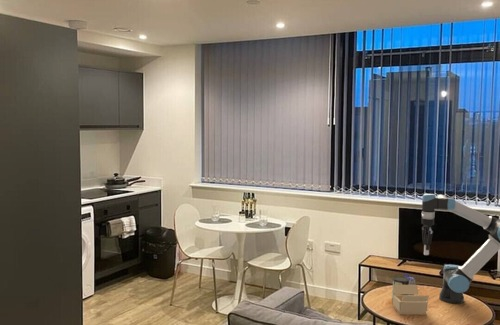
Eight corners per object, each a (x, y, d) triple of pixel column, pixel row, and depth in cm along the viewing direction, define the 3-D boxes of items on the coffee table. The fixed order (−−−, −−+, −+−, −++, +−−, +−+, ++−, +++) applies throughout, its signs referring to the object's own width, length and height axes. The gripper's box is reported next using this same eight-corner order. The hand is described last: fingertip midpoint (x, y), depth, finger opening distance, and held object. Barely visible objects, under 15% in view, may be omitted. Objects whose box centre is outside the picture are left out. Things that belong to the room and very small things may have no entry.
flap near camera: (429, 295, 297) (429, 296, 296) (426, 301, 301) (426, 301, 300) (404, 295, 296) (404, 295, 296) (401, 300, 300) (401, 301, 300)
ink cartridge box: (411, 294, 338) (412, 273, 337) (414, 297, 333) (415, 275, 332) (397, 294, 338) (398, 273, 337) (400, 297, 332) (401, 275, 331)
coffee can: (407, 297, 331) (408, 277, 330) (409, 303, 321) (410, 281, 320) (391, 296, 333) (392, 275, 332) (392, 301, 323) (393, 280, 322)
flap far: (418, 294, 313) (418, 294, 313) (416, 284, 316) (416, 285, 316) (394, 294, 312) (394, 294, 312) (393, 284, 315) (393, 284, 315)
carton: (419, 307, 313) (420, 295, 313) (427, 315, 301) (427, 302, 301) (392, 307, 313) (393, 295, 312) (399, 314, 301) (399, 301, 300)
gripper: (418, 216, 322) (416, 252, 324) (426, 220, 309) (424, 257, 311) (429, 216, 323) (427, 252, 325) (438, 220, 310) (436, 257, 312)
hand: (426, 254), depth 318 cm, fingers closed
